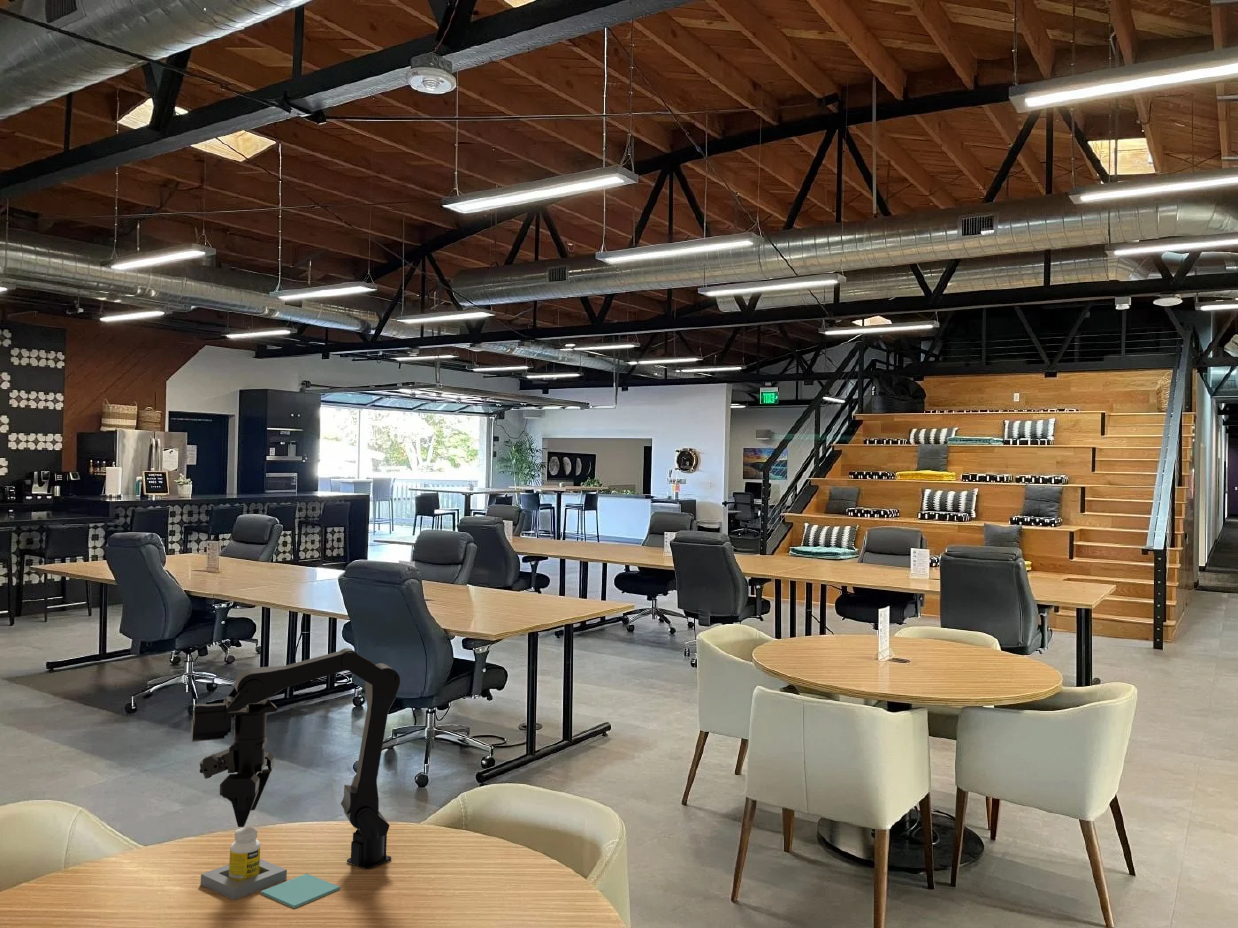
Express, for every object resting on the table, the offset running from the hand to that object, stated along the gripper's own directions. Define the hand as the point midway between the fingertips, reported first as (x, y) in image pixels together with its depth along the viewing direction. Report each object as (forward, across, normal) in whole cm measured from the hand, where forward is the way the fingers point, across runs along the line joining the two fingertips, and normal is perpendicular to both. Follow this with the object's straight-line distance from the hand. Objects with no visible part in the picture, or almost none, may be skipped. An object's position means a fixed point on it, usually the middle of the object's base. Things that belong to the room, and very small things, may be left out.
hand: (246, 818), depth 172 cm
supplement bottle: (+12, 0, 0) cm, 12 cm away
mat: (+12, +6, +11) cm, 18 cm away
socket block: (+12, 0, 0) cm, 12 cm away
